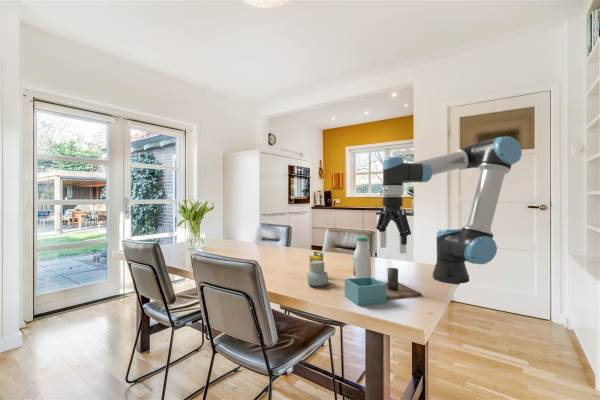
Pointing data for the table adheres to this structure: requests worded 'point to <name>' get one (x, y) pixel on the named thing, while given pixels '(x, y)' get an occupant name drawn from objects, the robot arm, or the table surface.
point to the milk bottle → (362, 259)
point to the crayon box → (316, 257)
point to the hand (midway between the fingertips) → (392, 250)
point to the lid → (398, 287)
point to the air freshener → (317, 274)
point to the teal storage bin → (365, 291)
